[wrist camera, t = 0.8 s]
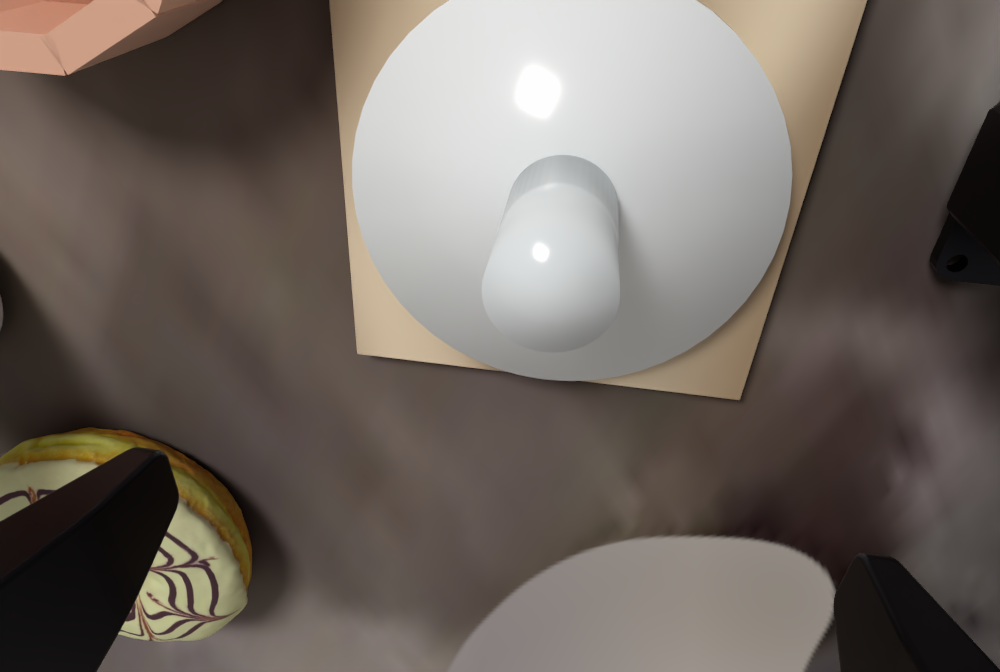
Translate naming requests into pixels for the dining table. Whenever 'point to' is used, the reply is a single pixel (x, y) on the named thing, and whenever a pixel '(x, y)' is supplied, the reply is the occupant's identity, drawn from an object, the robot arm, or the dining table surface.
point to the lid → (572, 180)
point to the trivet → (806, 108)
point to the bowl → (85, 30)
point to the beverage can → (1, 313)
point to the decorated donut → (185, 548)
